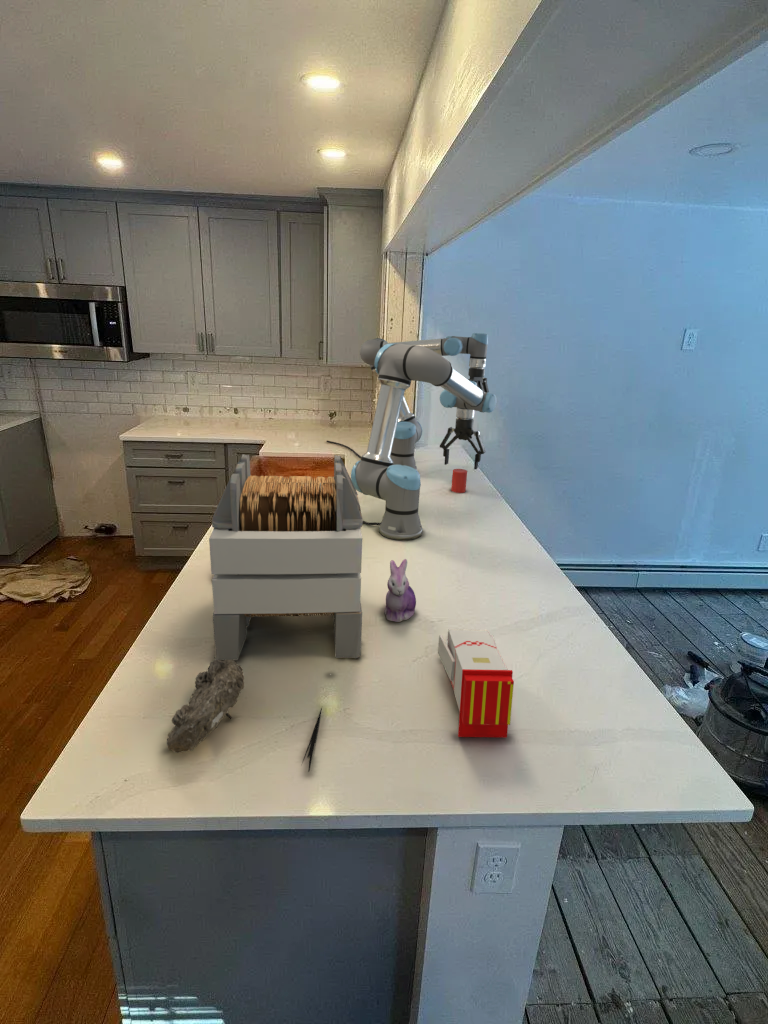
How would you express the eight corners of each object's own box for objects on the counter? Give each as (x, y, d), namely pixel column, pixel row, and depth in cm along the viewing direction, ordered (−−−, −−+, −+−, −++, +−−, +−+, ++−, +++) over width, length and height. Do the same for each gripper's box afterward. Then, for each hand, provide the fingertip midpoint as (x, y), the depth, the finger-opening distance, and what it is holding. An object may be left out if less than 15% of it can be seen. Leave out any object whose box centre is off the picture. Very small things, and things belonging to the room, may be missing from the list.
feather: (331, 679, 122) (336, 673, 122) (307, 777, 96) (313, 769, 95) (324, 675, 122) (329, 669, 121) (298, 772, 95) (304, 764, 95)
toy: (488, 613, 130) (523, 677, 101) (484, 667, 133) (517, 744, 104) (435, 612, 130) (455, 676, 101) (432, 666, 133) (451, 743, 103)
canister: (450, 492, 248) (452, 471, 245) (451, 488, 254) (453, 468, 251) (465, 493, 248) (467, 473, 244) (465, 489, 254) (467, 469, 250)
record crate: (234, 590, 156) (226, 444, 142) (353, 588, 159) (357, 447, 146) (212, 662, 124) (200, 485, 110) (361, 659, 128) (367, 486, 114)
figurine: (392, 627, 141) (395, 572, 136) (374, 608, 149) (376, 556, 144) (425, 619, 145) (429, 566, 140) (405, 601, 154) (408, 550, 149)
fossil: (192, 660, 117) (244, 628, 112) (224, 691, 120) (276, 661, 115) (142, 746, 98) (202, 712, 93) (182, 779, 101) (242, 748, 96)
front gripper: (496, 420, 238) (491, 468, 245) (440, 413, 248) (437, 460, 256) (490, 423, 232) (485, 472, 239) (434, 415, 242) (431, 463, 250)
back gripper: (465, 369, 254) (461, 416, 261) (499, 367, 270) (495, 412, 277) (453, 367, 259) (449, 414, 266) (487, 366, 275) (482, 409, 282)
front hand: (460, 466), depth 247 cm, fingers open, 13 cm apart
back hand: (472, 413), depth 272 cm, fingers open, 13 cm apart
